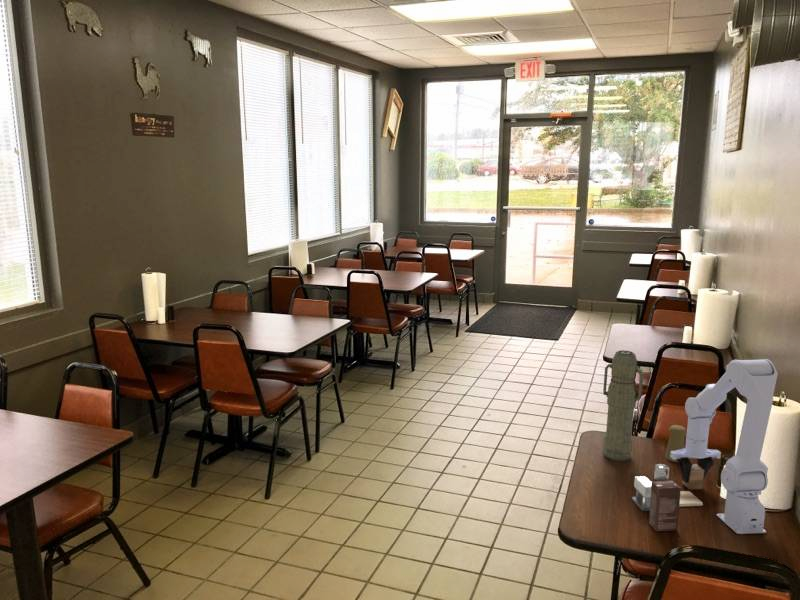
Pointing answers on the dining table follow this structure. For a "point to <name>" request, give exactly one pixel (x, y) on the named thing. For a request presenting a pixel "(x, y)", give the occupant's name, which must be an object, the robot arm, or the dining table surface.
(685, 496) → the birch pad
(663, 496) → the box
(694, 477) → the walnut block
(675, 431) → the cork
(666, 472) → the round canister
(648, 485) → the mounted unit
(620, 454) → the green thermos bottle
